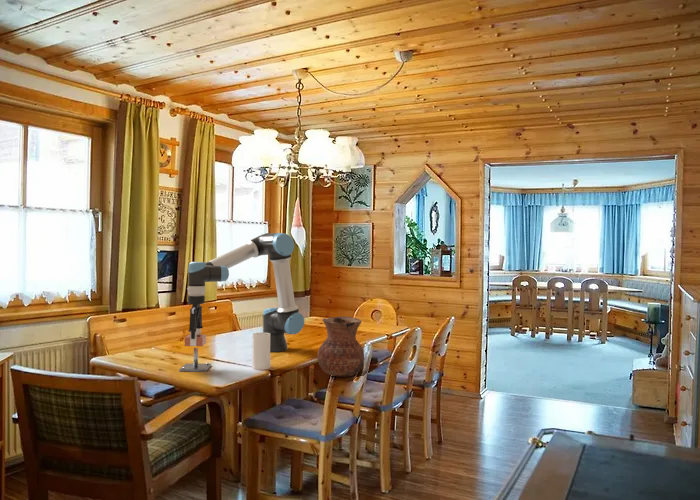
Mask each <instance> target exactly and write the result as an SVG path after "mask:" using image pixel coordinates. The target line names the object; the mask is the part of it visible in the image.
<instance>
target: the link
mask: <svg viewBox="0 0 700 500" xmlns="http://www.w3.org/2000/svg"><path fill="white" fill-rule="evenodd" d="M206 344H207V334H201V335H197V345H196V346H195V347H203V346H204V345H206ZM184 347H191V346H190V334H188V335H186V336H184Z"/></svg>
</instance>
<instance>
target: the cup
mask: <svg viewBox="0 0 700 500" xmlns="http://www.w3.org/2000/svg"><path fill="white" fill-rule="evenodd" d="M251 364H252V365H251V368H252V369H253V370H257V371H260V370H269V369H270V368H271V352H270V333H263V332H255V333H252V363H251Z"/></svg>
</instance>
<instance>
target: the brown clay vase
mask: <svg viewBox="0 0 700 500" xmlns="http://www.w3.org/2000/svg"><path fill="white" fill-rule="evenodd" d="M322 322H323V323H324V325H325V328H326V333H327V335H326V336H327V337H326V339H325V340H324V341H323V342H322V344H321V345H320V347H319V348H318V351H317V362H318V365H319V367H320V368H321V370H322V371H323V372H324V373H325V374H326V375H329V376H332V375H333V376H332V377H335V376H336V377H340V378H346V377H348V378H349V377H353V376H355V375H357V374H358V372H359V371H360V370H361V369H362V367H363V364H364V360H365V352H364V349H363V347H362V345H361V344H360V343H359V340H357V337H356V334H357V331H358V329H359V327H360V325H361V324H362V320H361V319H360V318H357V317H351V316H345V315H344V316H336V317H335V316H334V317H328V318H327V317H324V318H323V319H322Z"/></svg>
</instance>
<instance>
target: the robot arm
mask: <svg viewBox="0 0 700 500" xmlns="http://www.w3.org/2000/svg"><path fill="white" fill-rule="evenodd" d="M294 250H295V242H294V240H293V238H292V237H291V236H290V235H289V234H287V233H283V232H272V233H271V232H267V233H264V234H261V235H258V236H256V237H254V238H252V239H249V240H248V241H246V244H244V245H241V246H239V247H237V248H234V249H233V250H230V251H228V252H226V253H223V254H222V255H220V256H218V257H214V258H213V259H211V260H208V261H206V262H205V261H190V262H189V264H188V271H187V272H188V275H187V276H188V280H187V281H188V282H187V283H188V284H187V285H188V287H187V288H186V290H187V294H188V296H187V304H189V305H192V306H191V308H190V309H189V327H188V332H190V334H189V335H190V346H189V347H197V346H196V345H197V335H202V329H203V328H204V326H203V313H202V312H203V311H202V310H203V304H205V302H206V299H205V298H206V297H205V294H206V283H209V282H211V283H212V282H213V283H214V282H215V283H216V282H217V283H218V282H220V283H221V282H226V281H227V280H228V279H229V276H230V271H229V269H230V268H232V267H234V266H236V265H239V264H241V263H243V262H245V261H247V260H250V259H251V258H253V259H255V258H258V257H260V256H266V255H267V256H268V259H269V262H271V263H272V267H273V274H274V281H275V287H276V288H275V289H276V295H277V303H278V307H268V308H264V310H263V313H262V333H270V353H275V352H277V353H279V352H284V351H287V350H288V343H287V339H286V336H285V334H287V335H297V334H299V333H300V332H301V331H302V330H303V328H304V326H305V317H304V315H303V314H302V313H300V311H299V305H296V301H295V295H294V288H293V281H292V280H293V279H292V274H291V273H292V272H291V265H290V260H291V259H292V254H293V252H294Z"/></svg>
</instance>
